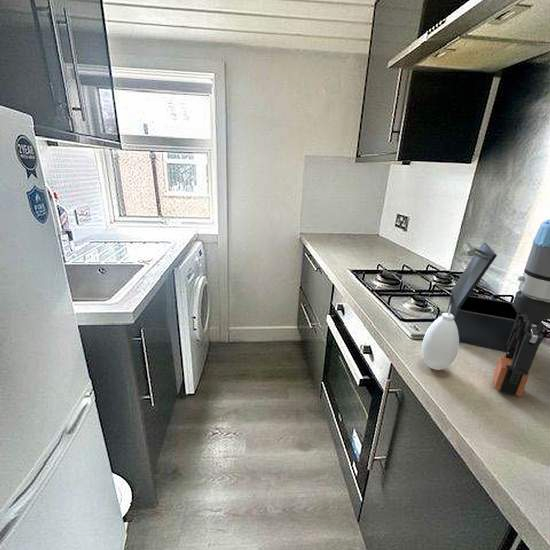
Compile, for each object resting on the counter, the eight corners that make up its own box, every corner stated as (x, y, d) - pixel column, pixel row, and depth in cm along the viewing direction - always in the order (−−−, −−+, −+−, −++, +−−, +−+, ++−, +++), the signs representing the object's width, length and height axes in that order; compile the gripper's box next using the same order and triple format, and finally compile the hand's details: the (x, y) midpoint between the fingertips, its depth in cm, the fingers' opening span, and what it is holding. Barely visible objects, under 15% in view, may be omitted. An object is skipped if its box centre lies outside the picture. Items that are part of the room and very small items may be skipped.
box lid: (486, 243, 90) (466, 235, 92) (497, 255, 78) (474, 246, 80) (453, 291, 98) (435, 284, 100) (459, 309, 86) (438, 300, 88)
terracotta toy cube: (518, 383, 72) (526, 362, 70) (520, 396, 68) (529, 375, 66) (492, 376, 74) (500, 355, 72) (494, 388, 70) (501, 367, 68)
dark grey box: (504, 330, 96) (513, 302, 92) (516, 354, 84) (528, 323, 81) (444, 319, 102) (451, 292, 98) (449, 339, 90) (457, 310, 87)
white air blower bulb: (447, 361, 80) (465, 300, 74) (454, 380, 73) (474, 315, 67) (415, 355, 82) (430, 295, 76) (419, 373, 75) (435, 309, 69)
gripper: (512, 278, 72) (485, 359, 80) (523, 307, 57) (489, 402, 66) (553, 285, 68) (521, 369, 76) (575, 318, 54) (532, 417, 62)
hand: (506, 384), depth 71 cm, fingers closed on terracotta toy cube, 5 cm apart
